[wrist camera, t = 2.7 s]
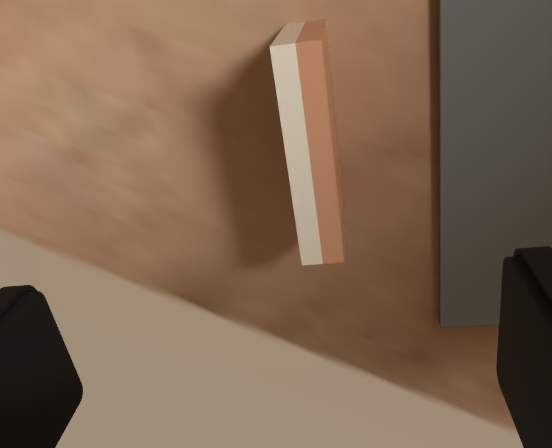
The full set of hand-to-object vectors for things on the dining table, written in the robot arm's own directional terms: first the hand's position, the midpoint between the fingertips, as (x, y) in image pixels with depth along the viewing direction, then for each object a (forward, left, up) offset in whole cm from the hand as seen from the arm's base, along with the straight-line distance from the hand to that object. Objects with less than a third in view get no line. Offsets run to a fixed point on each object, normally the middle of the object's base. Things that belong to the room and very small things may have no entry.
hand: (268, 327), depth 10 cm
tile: (0, 0, -13) cm, 13 cm away
